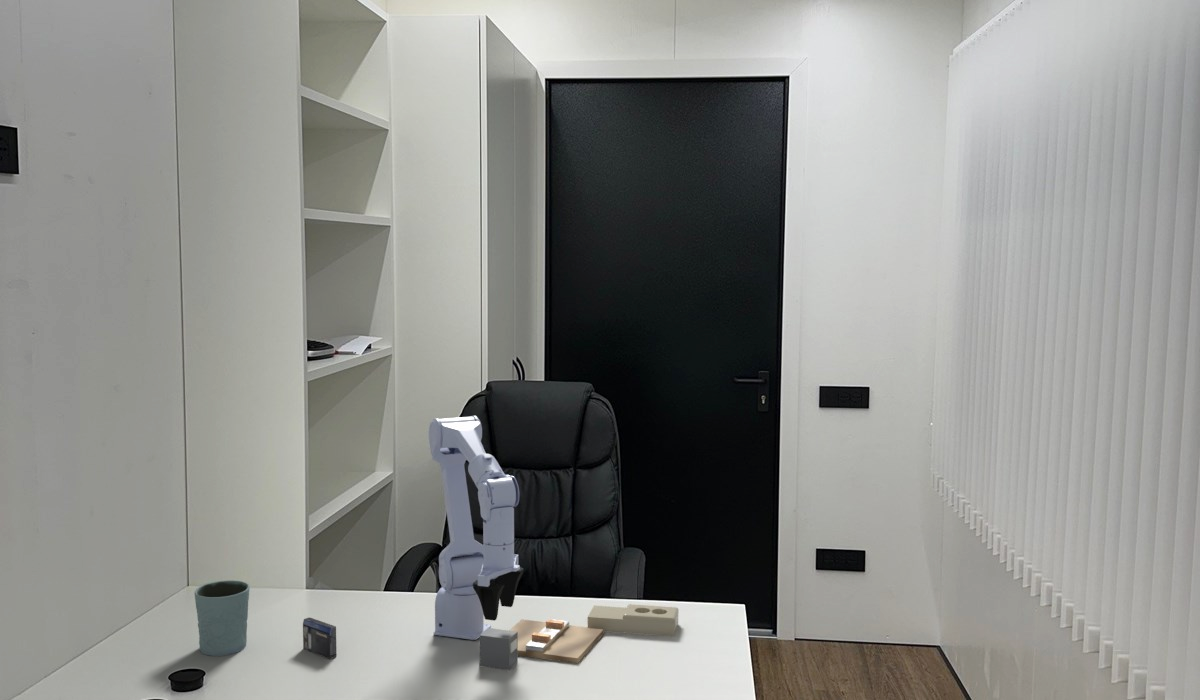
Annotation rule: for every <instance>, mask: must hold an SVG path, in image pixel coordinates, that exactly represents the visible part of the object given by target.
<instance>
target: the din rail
mask: <svg viewBox="0 0 1200 700" xmlns="http://www.w3.org/2000/svg"><path fill="white" fill-rule="evenodd" d="M545 622H546V627H545V628H544V629H543V630H541V631H540V632H539V633H533V634H532V640H531V641H530V642H529V643H528V644H527V645H526V650H527V651H535V652H544V651H545V650H546V649H547V648H548V647H549V646H550V645H551V644H552V643H553V642H554V641H555V640H556V639H557V638H558V637H559V636H560V635H561V634H562V633H563V632H564V631H565V630H566V629H567V628H568V627H569V625H570V620H569V621H568V620H562V619H561V620H560V619H554V618H553V619H547V620H546V621H545Z"/></svg>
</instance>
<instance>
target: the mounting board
mask: <svg viewBox="0 0 1200 700" xmlns="http://www.w3.org/2000/svg"><path fill="white" fill-rule="evenodd" d="M545 627H546V621H538V620H529V619H520V620H519V621H518V622H517V623H515V625H514V626H512V627H511V628H510V629H509V631H517V632H518V656H520V657H527V658H535V659H543V660H551V661H557V662H564V663H572V664H578V663H580V661H582V659H583V658H584V657H585V656H586V655H587V654H588V653H589V651H590V650H591V649H592V648H593V646H594V645H595V644H596V643H597V642H598V641H599V640H600V639H601V637H603V635H604V633H605V631H604V629H597V628H589V627H588V626H580V625H572V624H569V627H568V628H567V629H566V630H565V631H564V632H563V633H562V634H561V635H560V636H559V637H558V638H557V639H556V640H555V641H554V642H553V643H552V644H551V645H550V646H549V647H548V648H547V649H546V650H545V651H544V652H535V651H527V650H526V645H527V644H528V643H529V642H530V641H531V640H532V634H533V633H539V632H540V631H541V630H543V629H544V628H545Z"/></svg>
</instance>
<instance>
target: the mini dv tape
mask: <svg viewBox="0 0 1200 700" xmlns="http://www.w3.org/2000/svg"><path fill="white" fill-rule="evenodd" d="M302 644H303V646H302V648H303V650H306V651H308V652H311V653H313V654H316V655H318V656H322V657H324V658H326V659H329V660H330V659H331V660H332V659H334V658H336V657H337V655H338V654H337V627H336V626H335V625H333V624H331V623H327V622H324V621H321V620H319V619H315V618H312V617H306V618H304V619H303V621H302Z"/></svg>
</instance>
